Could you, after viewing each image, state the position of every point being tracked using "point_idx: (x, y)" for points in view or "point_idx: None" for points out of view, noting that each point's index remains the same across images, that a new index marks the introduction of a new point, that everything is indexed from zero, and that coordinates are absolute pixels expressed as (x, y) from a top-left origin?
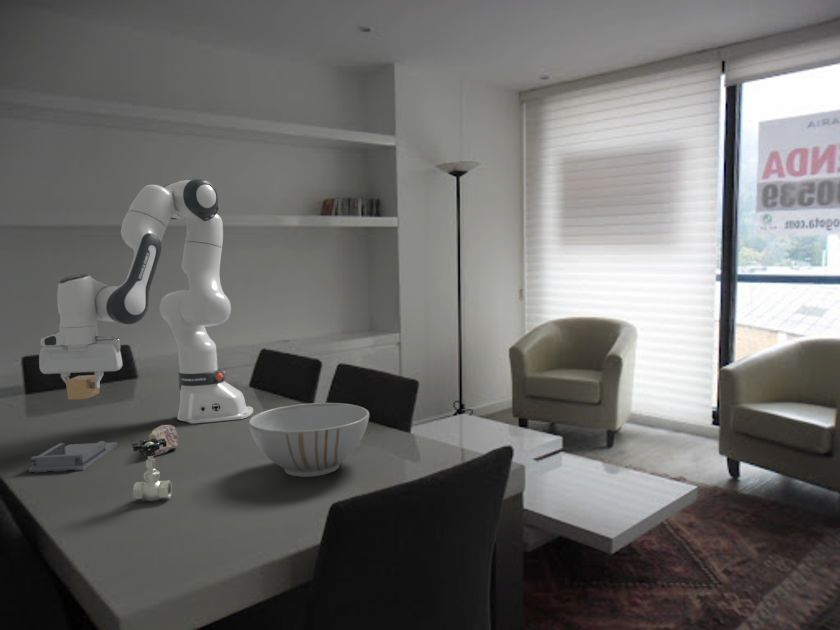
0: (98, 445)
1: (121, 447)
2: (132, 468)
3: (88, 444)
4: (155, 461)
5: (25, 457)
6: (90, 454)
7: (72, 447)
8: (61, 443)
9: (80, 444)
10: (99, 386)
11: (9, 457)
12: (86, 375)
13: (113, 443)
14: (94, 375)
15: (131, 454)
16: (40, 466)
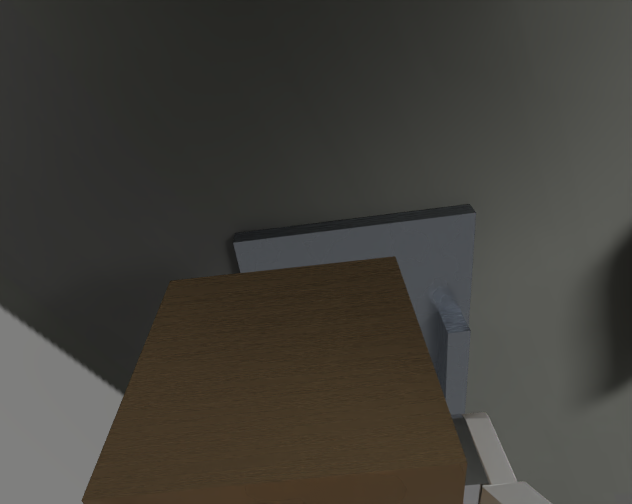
0: (466, 380)
1: (497, 225)
2: (608, 432)
3: (339, 245)
4: None
5: (133, 343)
6: None
7: None
8: None
9: (295, 244)
10: (487, 425)
11: (59, 343)
12: (239, 493)
13: (463, 232)
14: (420, 502)
15: (572, 316)
16: None
